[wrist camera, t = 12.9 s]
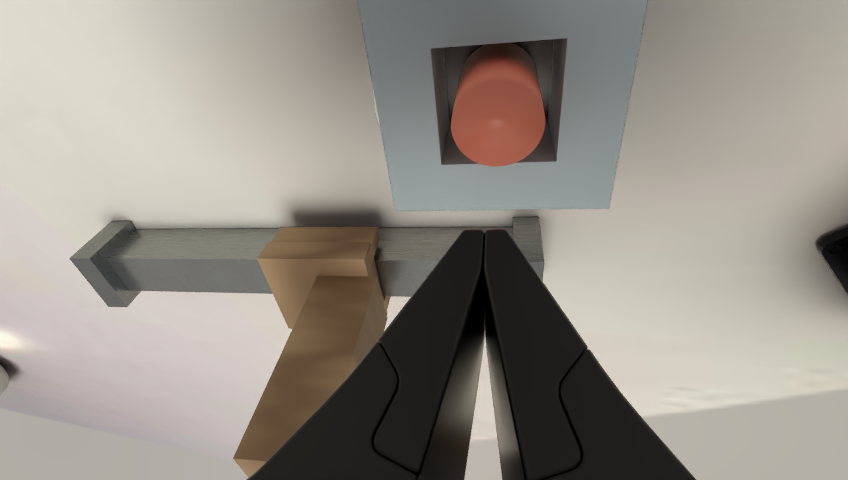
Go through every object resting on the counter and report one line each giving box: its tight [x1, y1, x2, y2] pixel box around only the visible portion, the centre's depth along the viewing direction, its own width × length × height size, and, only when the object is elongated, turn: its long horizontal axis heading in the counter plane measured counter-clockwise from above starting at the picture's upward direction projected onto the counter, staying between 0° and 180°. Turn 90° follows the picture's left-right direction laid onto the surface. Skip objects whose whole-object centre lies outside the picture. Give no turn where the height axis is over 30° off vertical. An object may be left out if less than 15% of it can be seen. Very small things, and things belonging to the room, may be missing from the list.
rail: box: [70, 217, 544, 307], centre depth 23 cm, size 24×4×3 cm, turn 96°
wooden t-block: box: [233, 227, 390, 478], centre depth 19 cm, size 5×5×11 cm
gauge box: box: [357, 0, 648, 211], centre depth 16 cm, size 8×8×4 cm
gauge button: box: [451, 43, 545, 167], centre depth 15 cm, size 3×3×4 cm
